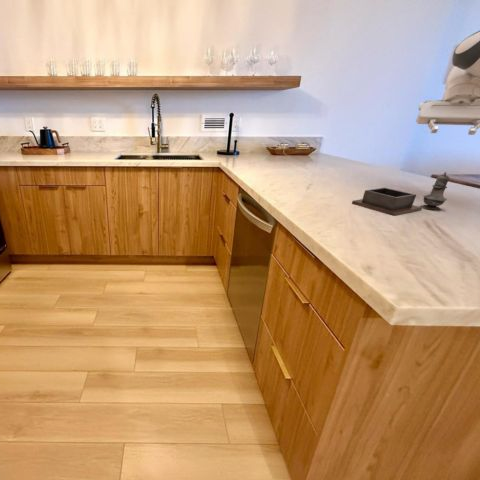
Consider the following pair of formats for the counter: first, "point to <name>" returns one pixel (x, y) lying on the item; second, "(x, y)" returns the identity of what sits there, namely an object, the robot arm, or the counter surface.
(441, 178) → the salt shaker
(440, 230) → the counter surface
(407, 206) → the dark grey square tray
